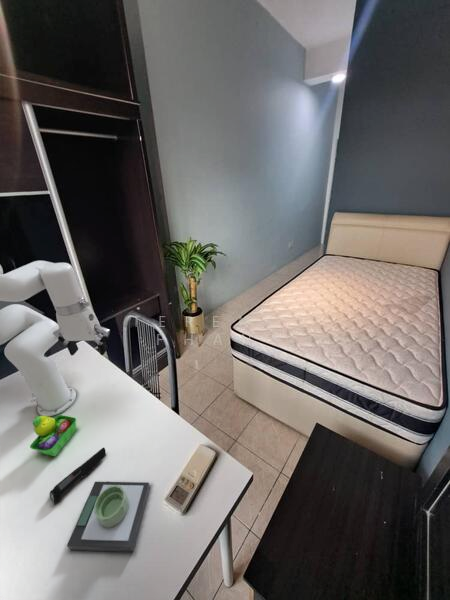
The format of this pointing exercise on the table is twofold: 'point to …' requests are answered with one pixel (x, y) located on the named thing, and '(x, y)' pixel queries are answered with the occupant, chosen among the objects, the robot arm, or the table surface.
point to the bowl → (111, 506)
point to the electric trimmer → (76, 475)
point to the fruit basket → (52, 433)
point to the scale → (116, 537)
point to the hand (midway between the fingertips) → (89, 352)
